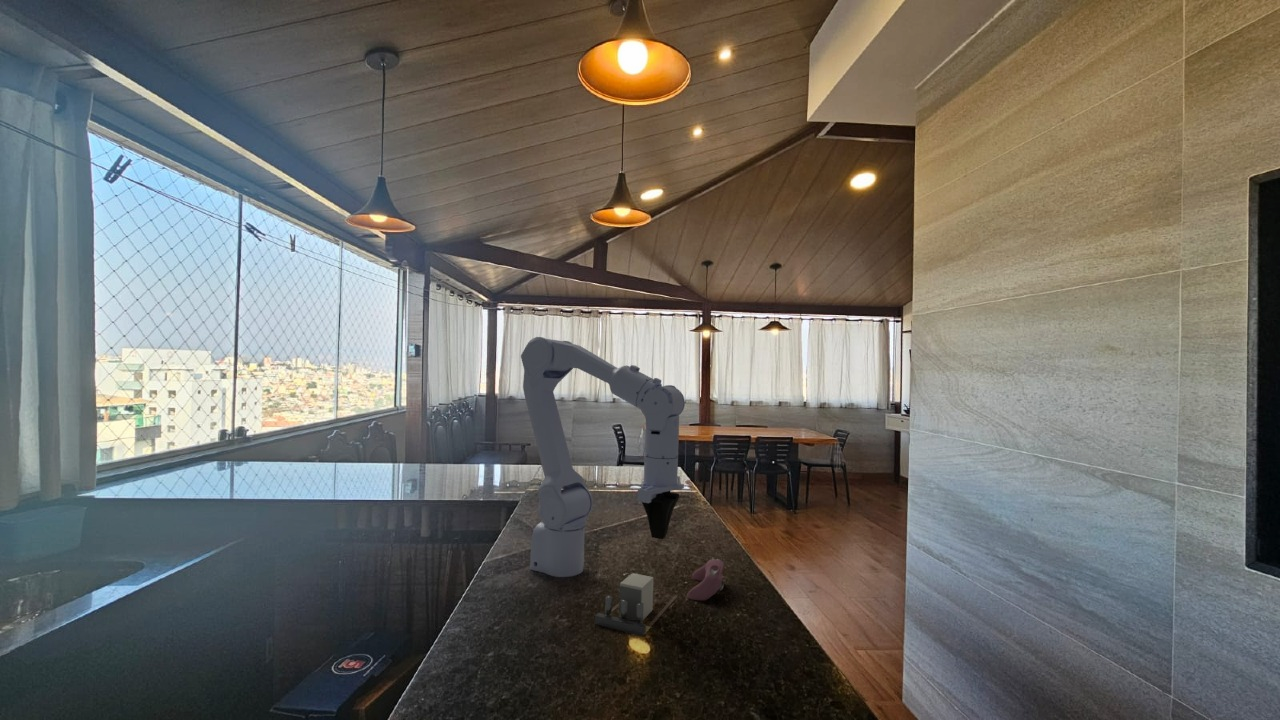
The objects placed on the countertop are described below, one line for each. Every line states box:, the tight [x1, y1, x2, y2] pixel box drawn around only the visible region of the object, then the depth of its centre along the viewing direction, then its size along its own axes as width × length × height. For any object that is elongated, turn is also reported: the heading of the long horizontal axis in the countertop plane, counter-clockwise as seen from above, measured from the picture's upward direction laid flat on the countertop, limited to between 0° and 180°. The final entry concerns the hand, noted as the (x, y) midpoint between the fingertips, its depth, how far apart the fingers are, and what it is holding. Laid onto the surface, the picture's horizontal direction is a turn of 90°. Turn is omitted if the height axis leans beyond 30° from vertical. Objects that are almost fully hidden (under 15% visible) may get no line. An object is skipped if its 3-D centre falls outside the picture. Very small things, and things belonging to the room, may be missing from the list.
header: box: [594, 594, 647, 637], centre depth 73 cm, size 8×2×4 cm, turn 66°
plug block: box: [618, 572, 655, 622], centre depth 77 cm, size 4×5×5 cm
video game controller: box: [686, 557, 725, 601], centre depth 87 cm, size 10×5×7 cm, turn 169°
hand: (658, 537), depth 85 cm, fingers closed
